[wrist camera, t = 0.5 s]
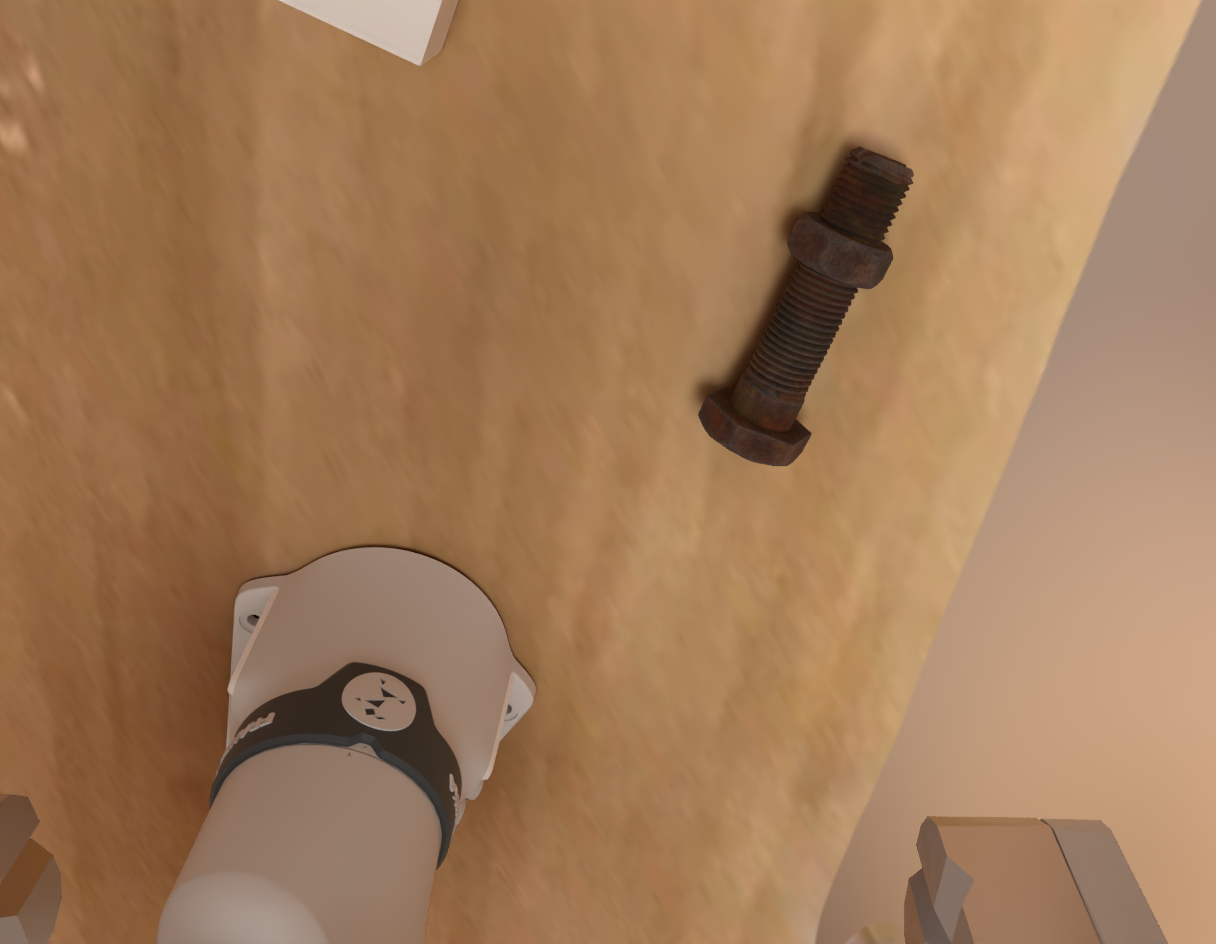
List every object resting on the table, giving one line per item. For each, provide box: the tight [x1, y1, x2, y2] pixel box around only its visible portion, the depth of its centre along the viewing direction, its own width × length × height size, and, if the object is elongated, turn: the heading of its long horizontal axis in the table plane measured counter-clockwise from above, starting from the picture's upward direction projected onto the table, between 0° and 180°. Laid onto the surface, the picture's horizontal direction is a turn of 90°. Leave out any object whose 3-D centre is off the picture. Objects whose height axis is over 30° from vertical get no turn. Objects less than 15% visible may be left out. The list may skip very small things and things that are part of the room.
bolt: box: [698, 147, 914, 466], centre depth 49 cm, size 6×5×15 cm
